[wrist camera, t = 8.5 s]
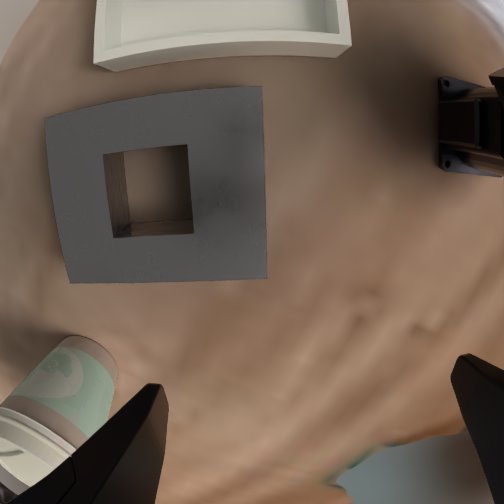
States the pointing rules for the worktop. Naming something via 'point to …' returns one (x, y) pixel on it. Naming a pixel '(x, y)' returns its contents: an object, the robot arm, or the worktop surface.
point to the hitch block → (201, 184)
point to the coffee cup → (56, 408)
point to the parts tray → (216, 30)
